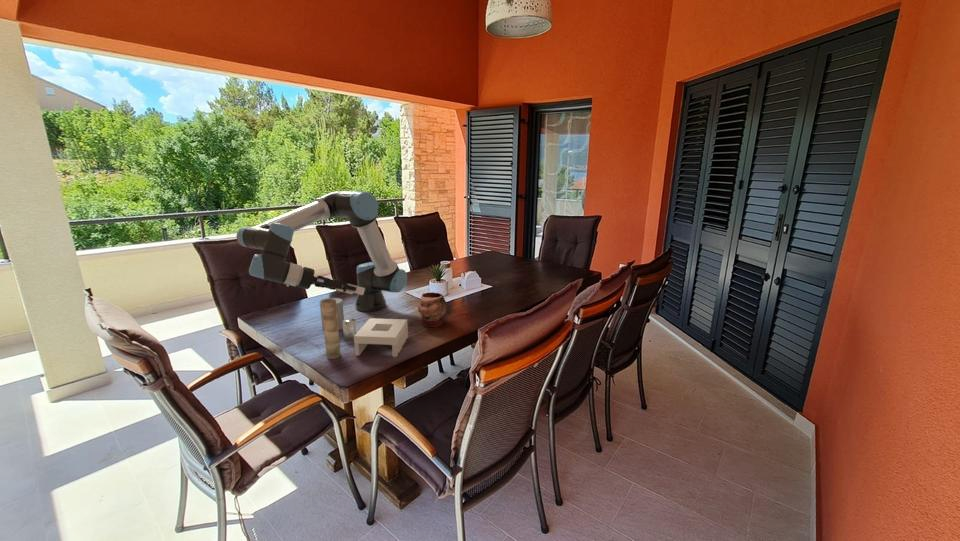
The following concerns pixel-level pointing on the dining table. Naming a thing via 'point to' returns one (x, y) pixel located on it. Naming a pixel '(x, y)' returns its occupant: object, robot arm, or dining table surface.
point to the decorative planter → (432, 309)
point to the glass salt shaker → (349, 329)
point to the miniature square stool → (382, 334)
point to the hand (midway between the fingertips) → (358, 291)
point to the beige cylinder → (339, 312)
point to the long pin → (331, 328)
